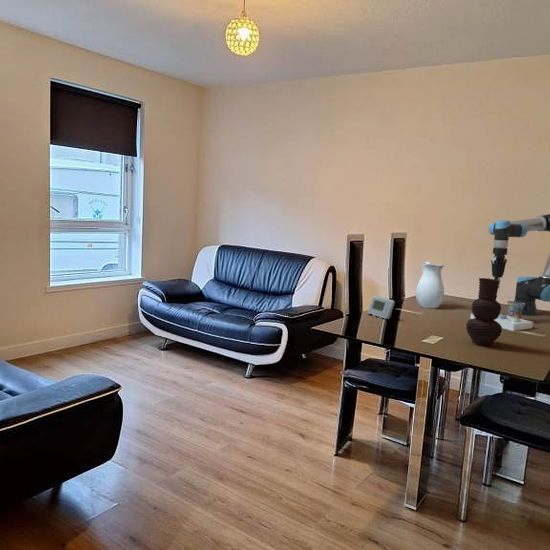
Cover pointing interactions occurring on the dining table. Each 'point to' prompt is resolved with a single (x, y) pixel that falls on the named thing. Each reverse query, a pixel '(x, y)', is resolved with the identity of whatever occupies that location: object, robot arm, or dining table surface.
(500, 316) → the slate button
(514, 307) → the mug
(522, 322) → the panel
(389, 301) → the digital clock
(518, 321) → the sage button
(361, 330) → the dining table surface
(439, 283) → the pitcher
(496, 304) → the vase
